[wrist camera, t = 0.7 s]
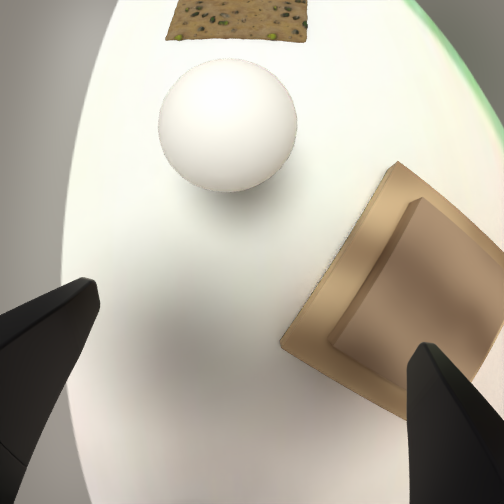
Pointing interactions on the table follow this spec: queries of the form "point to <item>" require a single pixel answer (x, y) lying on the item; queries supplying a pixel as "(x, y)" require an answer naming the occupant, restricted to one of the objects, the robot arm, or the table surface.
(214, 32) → the cookie
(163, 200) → the table surface
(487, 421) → the robot arm
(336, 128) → the table surface
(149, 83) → the table surface
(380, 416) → the table surface
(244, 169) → the lightbulb
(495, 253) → the plinth
